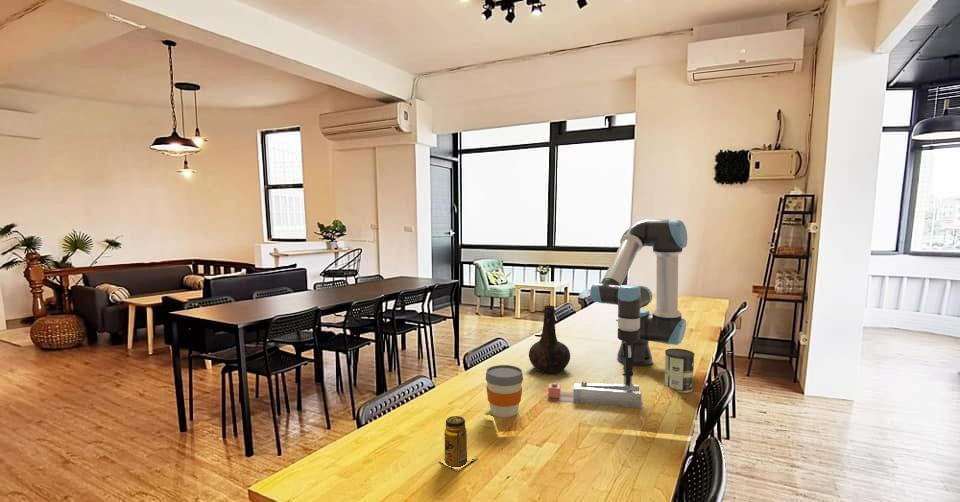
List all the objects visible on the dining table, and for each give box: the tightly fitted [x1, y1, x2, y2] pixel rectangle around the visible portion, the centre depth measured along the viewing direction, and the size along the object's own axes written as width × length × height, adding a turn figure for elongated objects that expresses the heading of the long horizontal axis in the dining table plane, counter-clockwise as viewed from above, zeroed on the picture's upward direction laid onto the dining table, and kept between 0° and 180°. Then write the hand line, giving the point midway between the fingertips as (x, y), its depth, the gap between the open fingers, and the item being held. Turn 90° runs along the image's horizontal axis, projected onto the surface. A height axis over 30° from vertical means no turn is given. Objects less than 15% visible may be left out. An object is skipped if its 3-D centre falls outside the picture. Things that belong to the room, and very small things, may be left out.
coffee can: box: [664, 347, 695, 394], centre depth 173 cm, size 10×10×14 cm
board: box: [546, 390, 645, 410], centre depth 160 cm, size 9×33×1 cm, turn 76°
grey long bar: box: [573, 382, 643, 409], centre depth 158 cm, size 5×23×5 cm, turn 76°
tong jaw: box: [581, 381, 640, 392], centre depth 160 cm, size 2×20×6 cm, turn 87°
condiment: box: [443, 415, 479, 472], centre depth 123 cm, size 7×8×12 cm
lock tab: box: [547, 382, 561, 398], centre depth 163 cm, size 4×4×4 cm
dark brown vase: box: [528, 304, 571, 374], centre depth 193 cm, size 18×18×28 cm
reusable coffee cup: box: [485, 364, 524, 418], centre depth 151 cm, size 13×13×15 cm
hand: (627, 392), depth 163 cm, fingers closed
